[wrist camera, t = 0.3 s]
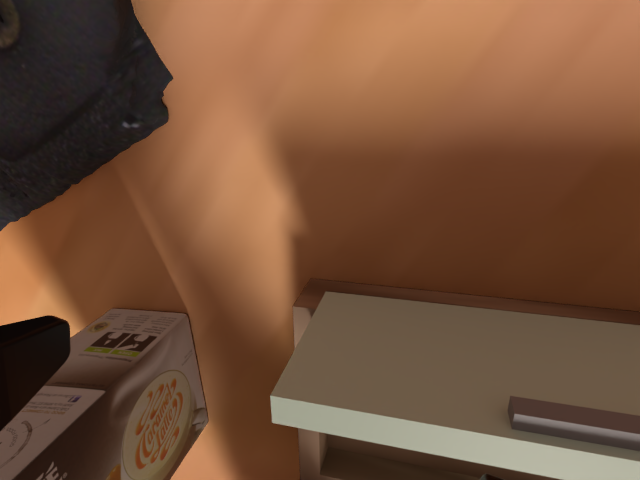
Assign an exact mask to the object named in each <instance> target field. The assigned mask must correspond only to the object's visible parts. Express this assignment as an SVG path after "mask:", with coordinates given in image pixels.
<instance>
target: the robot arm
mask: <svg viewBox="0 0 640 480" xmlns="http://www.w3.org/2000/svg"><path fill="white" fill-rule="evenodd" d="M70 351H71V346H70V326H69V323H68V322H67V321H66V320H63V319H61V318H58V317H55V316H43V317H39V318H34V319H30V320H25V321H20V322H16V323H11V324H7V325H2V326H0V431H1V430H2V429H3V428H4V427H5V426H6V425H7V424H9V423H10V422H11V421H12V420H13V419H14V418H15V416H16V415H17V414H18V413H19V412H20V411H21V410H22V409H23V408H24V407H25V406H26V405H27V404H28V403H29V401H30V400H31V399H32V398H33V397H34V396H35V395H36V394H37V393H38V392H39V391H40V389H41V388H42V387H43V386H44V385H45V384H46V383H47V382H48V381H49V380H50V379H51V377H52V376H53V375H54V374H55V373H56V372H57V371H58V370H59V369H60V368H61V367H62V365H63V364H64V363H65V362H66V361H67V359H68V357H69V355H70ZM480 480H505V479H502V478H499V477H497V476H494V475H491V474H484V475H483V476H482V477H481V479H480Z"/></svg>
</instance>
